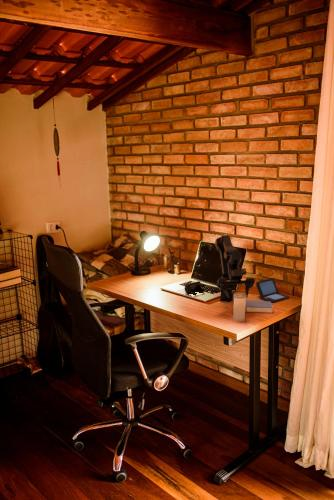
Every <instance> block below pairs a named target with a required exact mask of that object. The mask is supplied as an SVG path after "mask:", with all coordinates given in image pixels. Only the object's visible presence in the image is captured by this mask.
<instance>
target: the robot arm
mask: <svg viewBox="0 0 334 500" xmlns="http://www.w3.org/2000/svg"><path fill="white" fill-rule="evenodd" d="M214 242H215V243H214V246H215V247H216V251H217V252H218V253H219V256H220V263H221V271H222V275H221V276H220V277H218V279H217V281H216V287H217V288H218V290H219V292H220V298H219V302H223V303H224V302H226V303H232V302H233V301H234V294H235V292H234V291H236V289H237V285H244V286H245V287H244V289H245V290H244V291H245V293H244V294H246V298H248V296H249V291H250V289H251V288H253V287H254V285H255V284H256V279H255V278H254V277H246V279H245V280H243V277H244V276H246V275H247V268H244V267H243V268H241V269H240V265H241V262H242V259H243V254H242V252H240V251H239V249H237V247H235V246H234V245H233V243H232V238H231V235H226V234H225V235H220V237H218V238H216V239H215V241H214Z"/></svg>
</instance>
